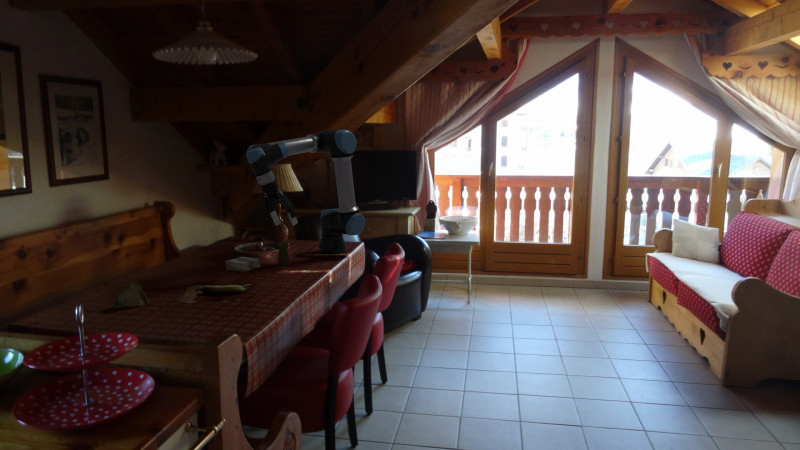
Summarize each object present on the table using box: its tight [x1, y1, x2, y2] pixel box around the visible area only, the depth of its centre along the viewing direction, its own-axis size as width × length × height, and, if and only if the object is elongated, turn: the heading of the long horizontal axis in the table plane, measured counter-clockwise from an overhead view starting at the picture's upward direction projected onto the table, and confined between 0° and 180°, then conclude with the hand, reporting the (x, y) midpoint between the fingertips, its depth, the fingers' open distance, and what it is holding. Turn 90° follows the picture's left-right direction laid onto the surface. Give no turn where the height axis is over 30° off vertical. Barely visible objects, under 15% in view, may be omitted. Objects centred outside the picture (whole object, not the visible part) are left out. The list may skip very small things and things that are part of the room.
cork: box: [277, 240, 291, 266], centre depth 262 cm, size 6×6×11 cm
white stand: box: [225, 256, 261, 273], centre depth 254 cm, size 11×11×4 cm
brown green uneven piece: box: [174, 283, 252, 304], centre depth 212 cm, size 35×27×4 cm
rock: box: [112, 280, 149, 309], centre depth 196 cm, size 11×9×10 cm
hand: (286, 224), depth 247 cm, fingers open, 13 cm apart
